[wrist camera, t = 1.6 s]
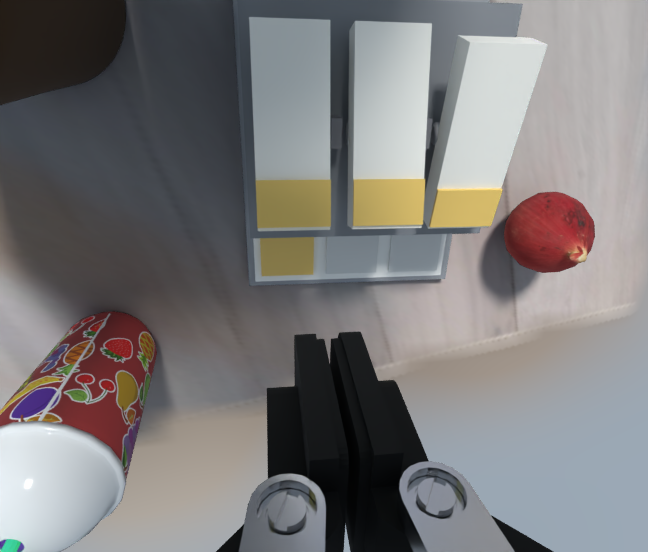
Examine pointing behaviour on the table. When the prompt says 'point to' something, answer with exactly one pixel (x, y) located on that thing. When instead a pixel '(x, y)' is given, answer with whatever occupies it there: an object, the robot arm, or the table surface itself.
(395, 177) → the rocker
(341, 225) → the switch unit
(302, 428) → the robot arm
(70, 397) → the smoothie
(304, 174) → the rocker
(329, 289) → the table surface
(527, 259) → the onion
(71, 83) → the olive oil
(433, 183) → the rocker
